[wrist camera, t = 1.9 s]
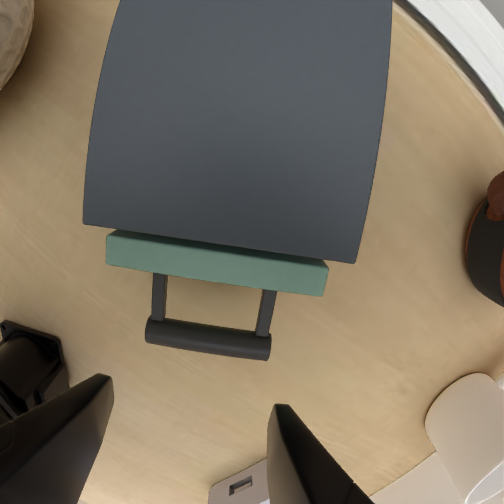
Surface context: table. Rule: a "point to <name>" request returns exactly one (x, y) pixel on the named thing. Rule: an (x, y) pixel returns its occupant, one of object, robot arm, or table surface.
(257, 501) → the charger
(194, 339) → the drawer
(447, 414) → the mug
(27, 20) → the vase
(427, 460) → the paper
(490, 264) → the mug
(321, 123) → the cabinet
